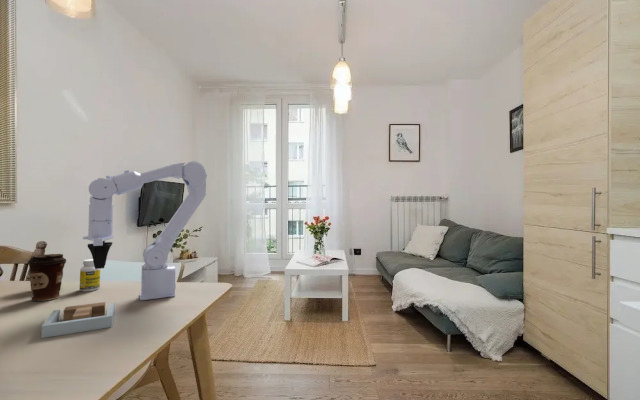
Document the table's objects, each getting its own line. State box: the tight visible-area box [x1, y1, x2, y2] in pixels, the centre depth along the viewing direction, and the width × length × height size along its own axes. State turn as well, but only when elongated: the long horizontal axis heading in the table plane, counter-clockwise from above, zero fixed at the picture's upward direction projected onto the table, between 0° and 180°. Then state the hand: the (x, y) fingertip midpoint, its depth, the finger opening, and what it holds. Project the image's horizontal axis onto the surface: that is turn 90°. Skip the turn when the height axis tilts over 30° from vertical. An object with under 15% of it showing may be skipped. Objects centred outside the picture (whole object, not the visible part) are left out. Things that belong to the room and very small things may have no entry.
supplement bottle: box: [79, 258, 101, 292], centre depth 103 cm, size 5×5×10 cm
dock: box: [41, 302, 116, 339], centre depth 74 cm, size 11×12×2 cm
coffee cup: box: [26, 253, 67, 302], centre depth 93 cm, size 9×8×13 cm
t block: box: [62, 301, 106, 322], centre depth 75 cm, size 9×8×3 cm
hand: (99, 268), depth 89 cm, fingers closed
